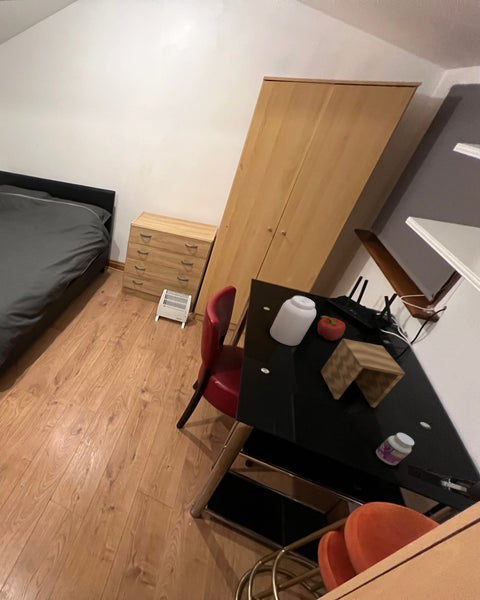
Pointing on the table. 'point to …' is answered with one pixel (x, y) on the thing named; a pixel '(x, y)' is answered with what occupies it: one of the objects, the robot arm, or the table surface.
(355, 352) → the cubby
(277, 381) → the table surface
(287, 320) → the white jar
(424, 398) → the table surface
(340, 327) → the vegetable
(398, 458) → the pill bottle
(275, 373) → the table surface
